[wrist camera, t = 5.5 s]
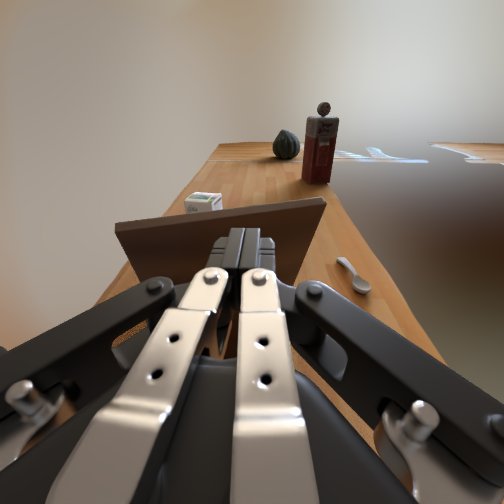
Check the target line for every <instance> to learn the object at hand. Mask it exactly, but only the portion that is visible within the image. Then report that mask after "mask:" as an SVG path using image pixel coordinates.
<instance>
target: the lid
mask: <svg viewBox="0 0 504 504" xmlns="http://www.w3.org/2000/svg"><path fill="white" fill-rule="evenodd" d="M326 205H327V203H326V202H325V200H324V199H323V197H318V198H310V199H302V200H294V201H286V202H278V203H270V204H262V205H254V206H246V207H238V208H230V209H222V210H214V211H206V212H198V213H191V214H183V215H175V216H167V217H159V218H152V219H143V220H135V221H127V222H119V223H115V234H116V236H117V238H118V240H119V242H120V244H121V246H122V247H123V249H124V251H125V253H126V255H127V257H128V259H129V261H130V263H131V265H132V267H133V269H134V271H135V273H136V275H137V277H138V279H139V281H140V283H141V282H143V281H145V280H147V279H150V278H153V277H160V276H162V277H167V278H170V279H171V280H172V281H173V285H174V286H175V285H180V284H185V283H189V282H192V280H193V278H194V276H195V275H196V273H197V272H199V271H200V270H202V269H205V267H206V264H207V262H208V259H209V256H210V254H211V251H212V249H213V246H214V243H215V242H216V241H217V240H218V239H219V238H220V237H228V236H229V233H230V230H231V228H245V229H246V228H260V238H271V239H272V240H273V242H274V243H275V272H276V277H277V278H278V280H279V281H281V282H282V283H284V284H286V285H288V286H292V287H293V284H294V282H295V279H296V277H297V275H298V272H299V270H300V267H301V265H302V263H303V260H304V258H305V255H306V253H307V251H308V248H309V246H310V243H311V241H312V239H313V236H314V234H315V231H316V229H317V227H318V224H319V222H320V219H321V217H322V214H323V212H324V210H325V207H326ZM239 312H241V306H240V311H234V313H233V318H232V320H233V319H237V318H239Z"/></svg>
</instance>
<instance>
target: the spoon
mask: <svg viewBox="0 0 504 504" xmlns="http://www.w3.org/2000/svg"><path fill="white" fill-rule="evenodd" d="M336 260H337V261H338V262H339V263H340V264H342V265H343V266H344V267H345V268H346V269H347V270H348V271H349V272H350V273H351V275H352V276H353V281H352V286H353V288H354V289H355V290H356V291H357V292H359V293H362V294H367V293H369V292H370V290H371V286H370V284H369V283H368V282H366V281H365V280H363V279H361V278H360V277H359V275H358V274H357V273H356V271H355V269H354V268H353V267H352V265H351V264H350V263H349V262H348V261H347V259H346V258H344V257H338V258H337V259H336Z"/></svg>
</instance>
